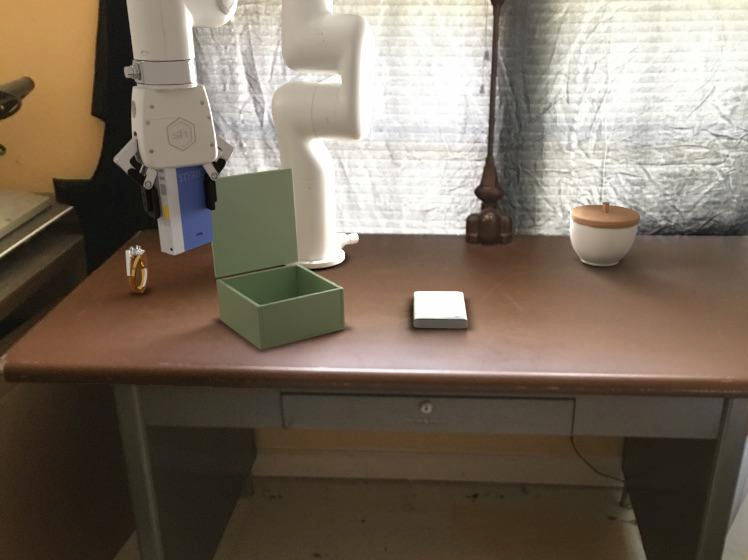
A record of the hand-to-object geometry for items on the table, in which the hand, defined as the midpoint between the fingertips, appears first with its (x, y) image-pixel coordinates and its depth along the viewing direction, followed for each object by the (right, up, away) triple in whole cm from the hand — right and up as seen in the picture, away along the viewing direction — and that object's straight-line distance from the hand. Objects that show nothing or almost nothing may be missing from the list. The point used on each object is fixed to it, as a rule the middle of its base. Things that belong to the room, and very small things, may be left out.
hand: (181, 211), depth 116 cm
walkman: (0, -5, +3) cm, 5 cm away
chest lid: (+8, +1, +14) cm, 16 cm away
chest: (+12, -14, +15) cm, 24 cm away
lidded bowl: (+68, 0, +45) cm, 81 cm away
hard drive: (+36, -12, +20) cm, 43 cm away
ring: (-14, -8, +28) cm, 32 cm away
